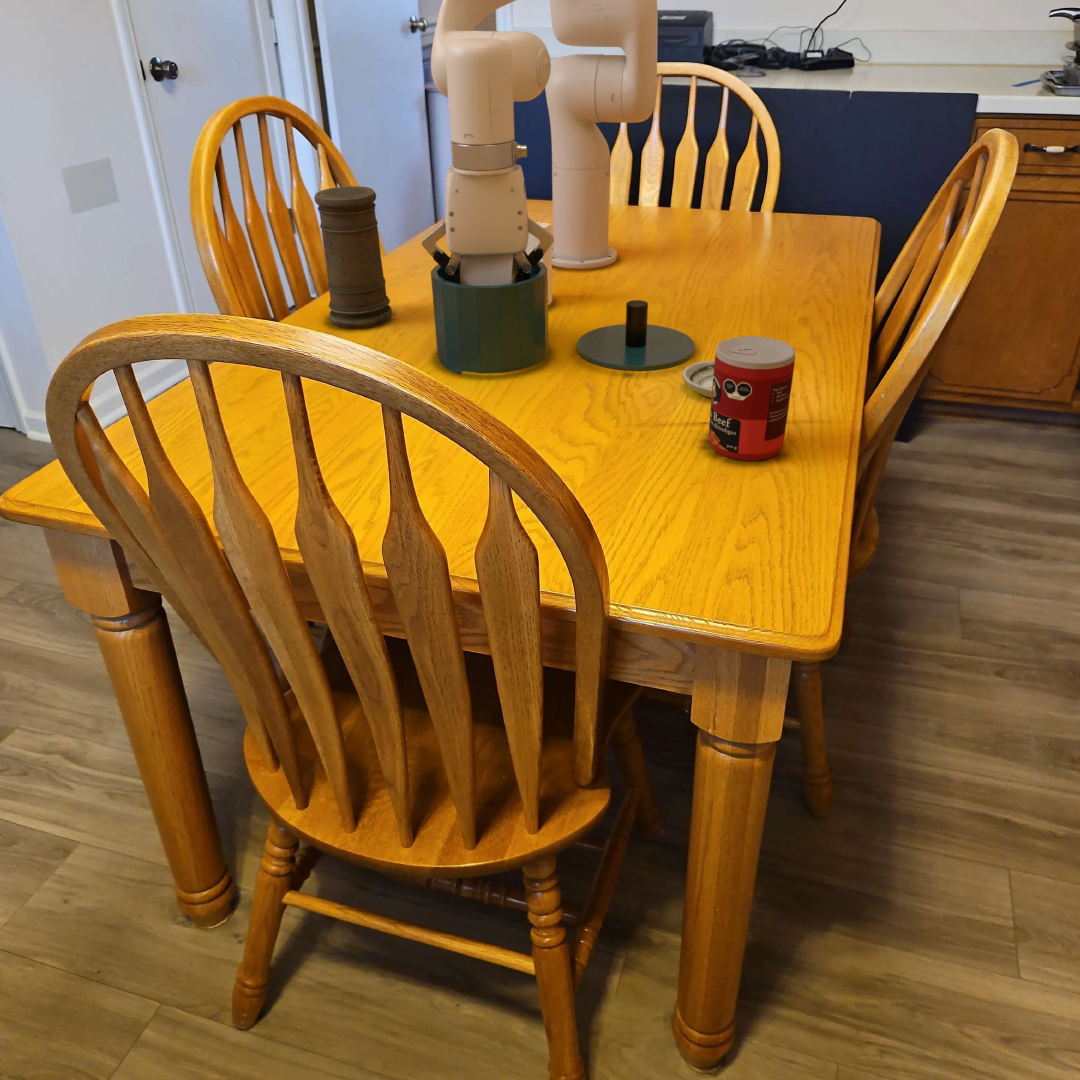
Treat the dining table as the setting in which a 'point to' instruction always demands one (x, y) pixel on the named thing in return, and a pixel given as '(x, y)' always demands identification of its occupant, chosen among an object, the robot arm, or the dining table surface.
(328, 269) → the container
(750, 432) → the canned food
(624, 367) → the lid
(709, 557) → the dining table surface
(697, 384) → the saucer
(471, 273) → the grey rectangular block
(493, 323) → the pot
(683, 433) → the dining table surface
